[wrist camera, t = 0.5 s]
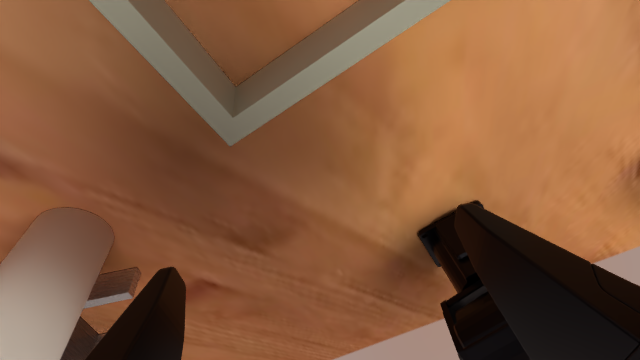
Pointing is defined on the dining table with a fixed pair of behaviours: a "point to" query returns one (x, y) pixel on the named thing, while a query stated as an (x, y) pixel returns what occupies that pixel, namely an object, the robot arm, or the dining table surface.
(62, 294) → the white capped bottle
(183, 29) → the rectangular open frame
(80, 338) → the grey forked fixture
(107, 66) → the dining table surface
